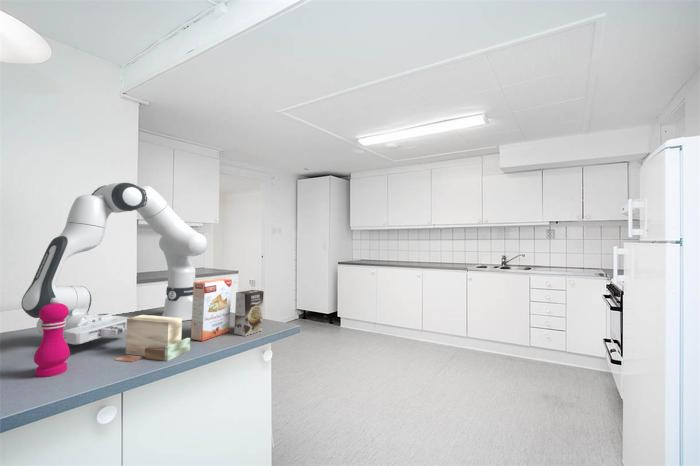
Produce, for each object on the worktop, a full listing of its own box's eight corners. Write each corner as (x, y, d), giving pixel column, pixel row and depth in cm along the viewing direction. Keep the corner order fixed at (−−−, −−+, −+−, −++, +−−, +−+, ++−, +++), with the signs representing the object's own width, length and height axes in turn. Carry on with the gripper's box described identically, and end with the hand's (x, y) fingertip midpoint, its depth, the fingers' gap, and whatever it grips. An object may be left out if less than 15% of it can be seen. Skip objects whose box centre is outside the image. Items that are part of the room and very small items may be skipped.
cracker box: (202, 342, 118) (204, 282, 118) (190, 339, 120) (192, 281, 121) (230, 332, 131) (232, 278, 131) (218, 330, 133) (220, 277, 134)
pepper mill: (67, 374, 89) (70, 298, 89) (30, 380, 84) (33, 301, 85) (70, 365, 94) (73, 294, 95) (35, 370, 90) (38, 296, 91)
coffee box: (245, 336, 126) (247, 293, 126) (233, 333, 129) (235, 291, 129) (263, 331, 134) (264, 290, 134) (251, 328, 137) (252, 289, 137)
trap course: (143, 341, 117) (144, 329, 117) (196, 346, 113) (197, 334, 113) (98, 358, 100) (98, 344, 100) (158, 365, 96) (159, 351, 96)
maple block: (141, 347, 111) (142, 314, 111) (180, 352, 108) (182, 318, 108) (125, 354, 105) (126, 318, 105) (167, 358, 102) (168, 322, 102)
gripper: (52, 326, 101) (90, 330, 99) (112, 312, 122) (144, 315, 119) (51, 347, 101) (89, 351, 99) (111, 329, 121) (144, 332, 119)
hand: (120, 331), depth 109 cm, fingers closed
